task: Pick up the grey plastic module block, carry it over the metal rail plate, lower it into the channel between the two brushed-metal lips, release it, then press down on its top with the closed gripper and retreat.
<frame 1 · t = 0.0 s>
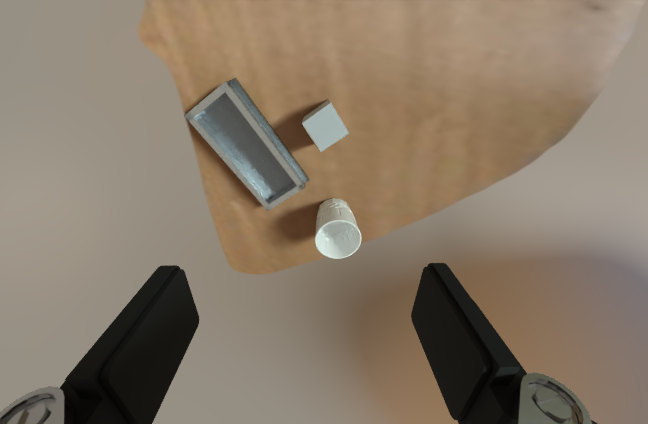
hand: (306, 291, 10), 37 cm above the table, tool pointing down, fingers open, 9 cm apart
module: (323, 121, 42), on the table
rail: (253, 149, 44), on the table
white cup: (333, 212, 51), on the table
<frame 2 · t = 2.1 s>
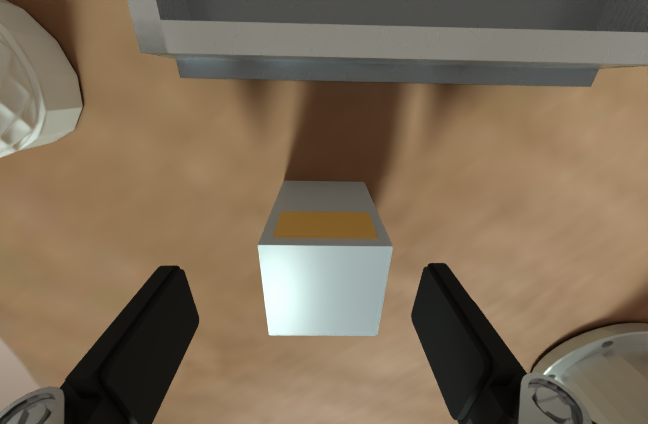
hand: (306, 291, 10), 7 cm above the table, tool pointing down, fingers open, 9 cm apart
module: (323, 216, 16), on the table
white cup: (16, 74, 13), on the table
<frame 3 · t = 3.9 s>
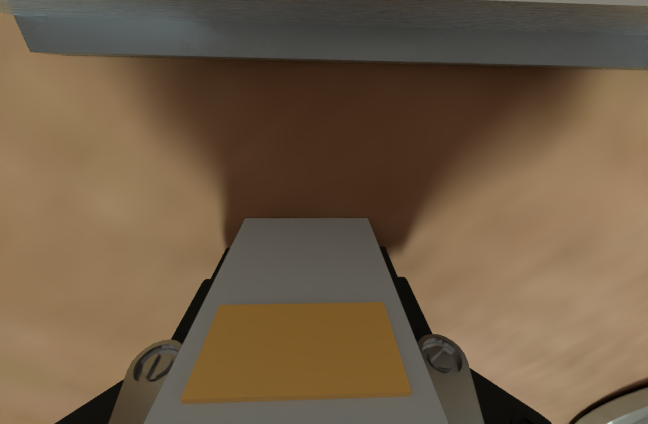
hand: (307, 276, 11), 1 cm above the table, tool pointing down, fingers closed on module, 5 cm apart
module: (307, 265, 11), on the table, touching gripper
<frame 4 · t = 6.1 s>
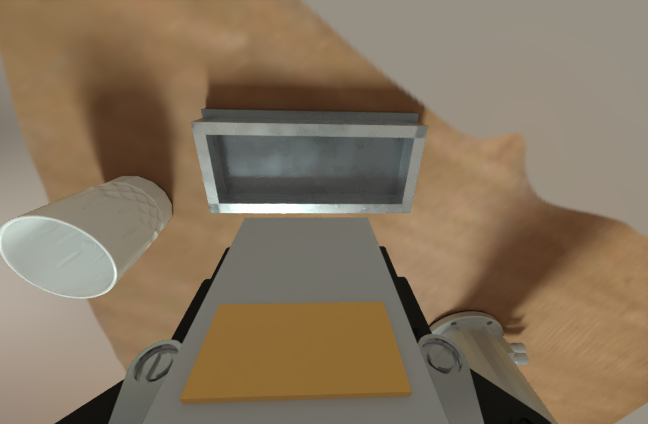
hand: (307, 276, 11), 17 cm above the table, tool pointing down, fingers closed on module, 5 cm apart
module: (307, 265, 11), point 17 cm above the table, touching gripper
rail: (312, 161, 26), on the table
white cup: (142, 202, 28), on the table
when the fingers open (3 cm above the table, at t = 8.4 s): module drops 1 cm, resting on rail.
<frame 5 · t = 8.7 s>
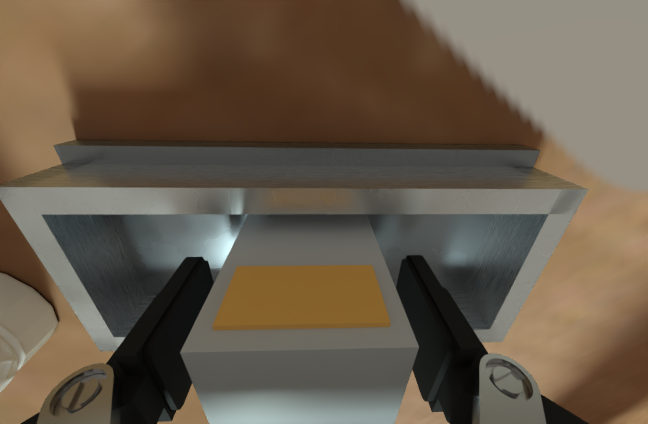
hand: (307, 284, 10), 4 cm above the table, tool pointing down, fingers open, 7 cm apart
module: (308, 247, 13), point 1 cm above the table, touching rail
rail: (308, 236, 13), on the table
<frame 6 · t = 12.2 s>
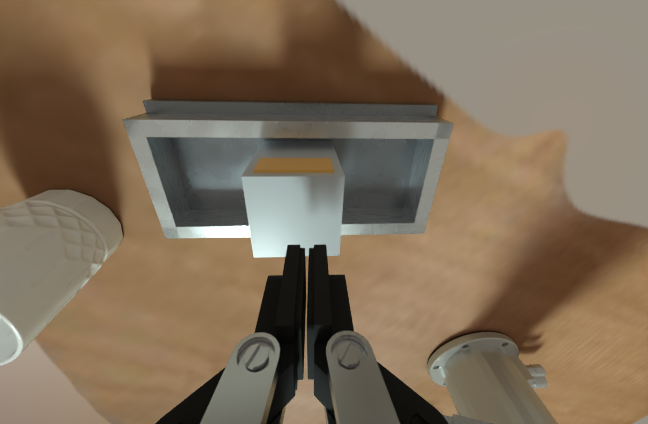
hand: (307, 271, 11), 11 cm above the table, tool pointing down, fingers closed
module: (298, 173, 19), point 1 cm above the table, touching rail
rail: (298, 168, 20), on the table
white cup: (82, 222, 22), on the table
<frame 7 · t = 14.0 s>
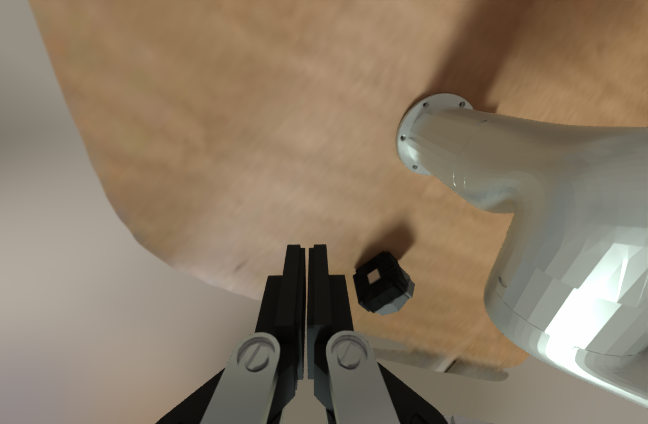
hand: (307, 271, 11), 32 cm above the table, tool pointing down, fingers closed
cpu cooler: (375, 265, 53), on the table
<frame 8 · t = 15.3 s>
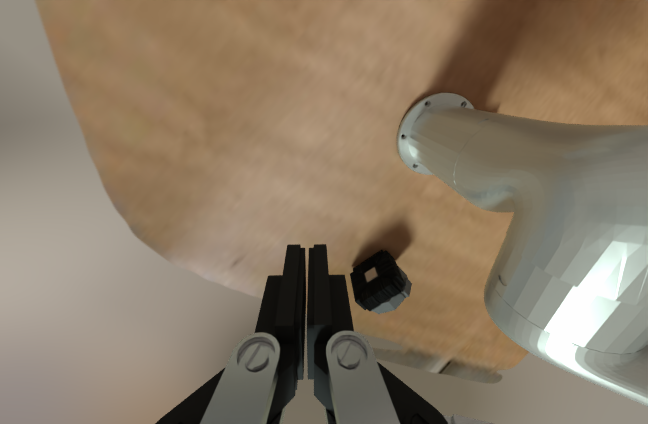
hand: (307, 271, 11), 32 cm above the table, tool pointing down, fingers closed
cpu cooler: (373, 264, 53), on the table
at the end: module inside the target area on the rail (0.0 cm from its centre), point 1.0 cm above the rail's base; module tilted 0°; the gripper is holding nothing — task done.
